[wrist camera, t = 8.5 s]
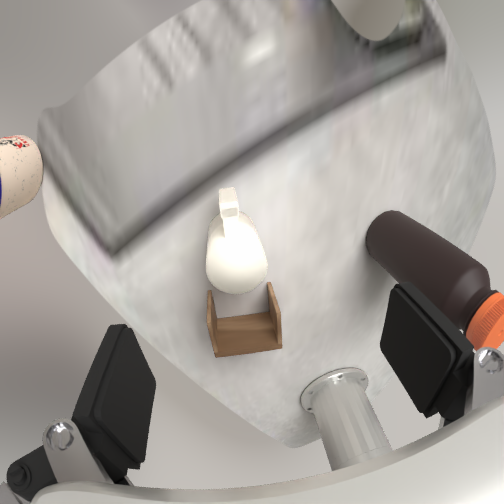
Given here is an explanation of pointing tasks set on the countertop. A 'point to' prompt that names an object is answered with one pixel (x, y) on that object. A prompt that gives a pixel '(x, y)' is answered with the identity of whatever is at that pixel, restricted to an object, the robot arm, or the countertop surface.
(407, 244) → the bottle
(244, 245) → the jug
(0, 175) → the teacup with lid
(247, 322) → the caddy
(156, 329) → the countertop surface
